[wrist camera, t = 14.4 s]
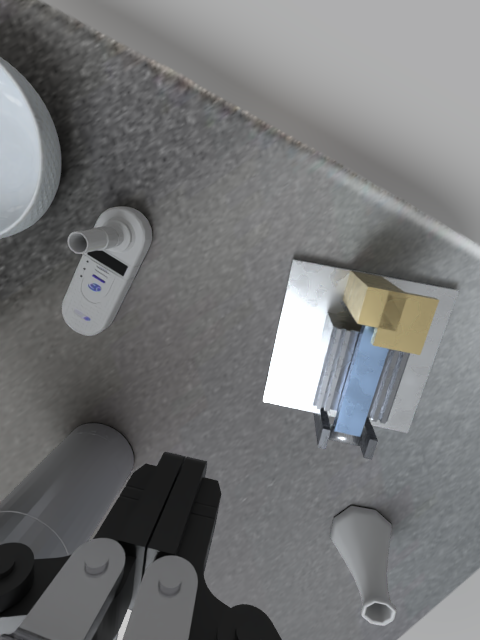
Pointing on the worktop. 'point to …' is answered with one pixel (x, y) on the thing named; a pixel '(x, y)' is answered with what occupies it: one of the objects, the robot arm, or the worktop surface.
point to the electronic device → (105, 268)
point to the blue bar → (358, 389)
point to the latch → (390, 312)
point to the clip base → (307, 332)
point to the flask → (366, 558)
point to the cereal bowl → (25, 153)
